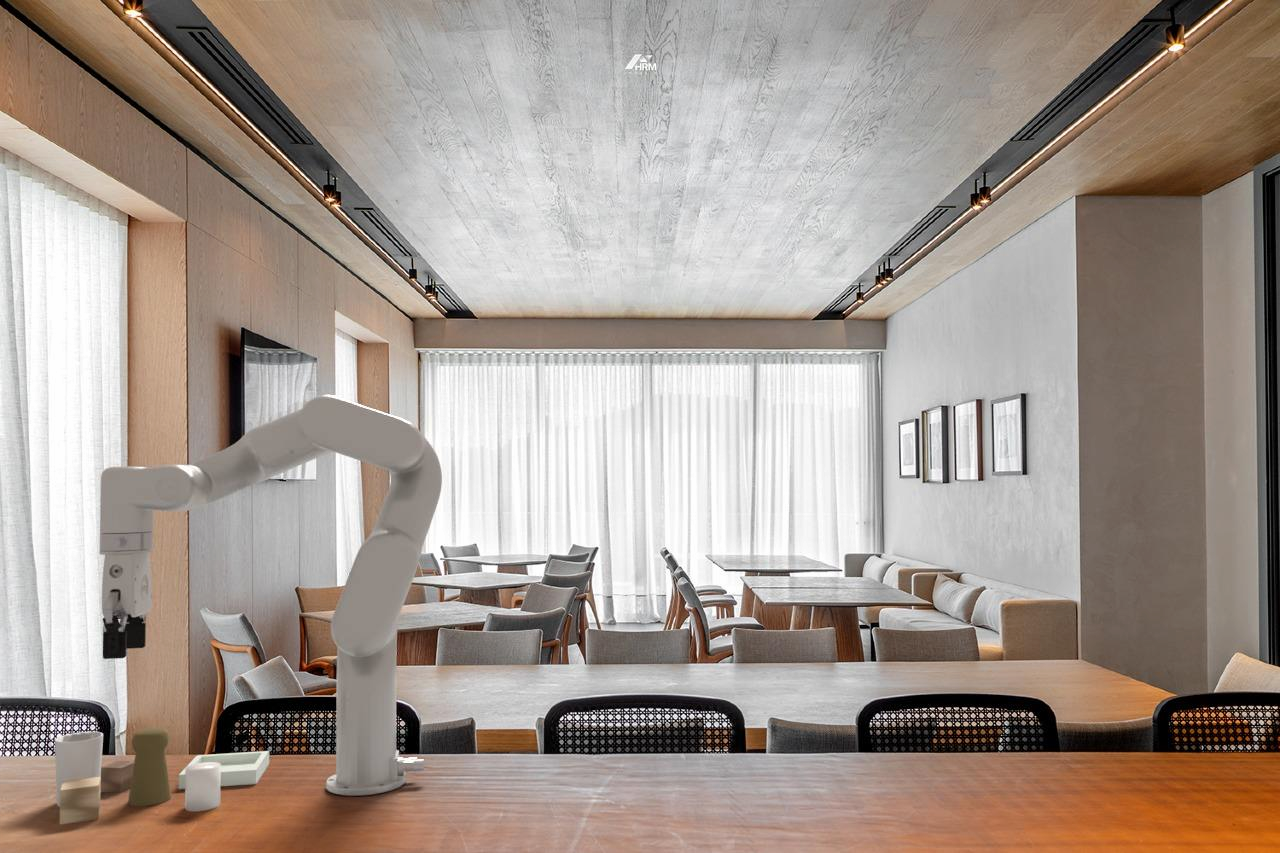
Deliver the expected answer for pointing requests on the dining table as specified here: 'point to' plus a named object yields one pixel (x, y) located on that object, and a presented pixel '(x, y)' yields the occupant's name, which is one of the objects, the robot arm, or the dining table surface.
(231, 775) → the tray
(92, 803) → the oak block
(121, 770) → the walnut block
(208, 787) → the white rounded cylinder
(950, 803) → the dining table surface
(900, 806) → the dining table surface
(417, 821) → the dining table surface
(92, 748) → the drinking glass
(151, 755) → the olive rounded tall piece
